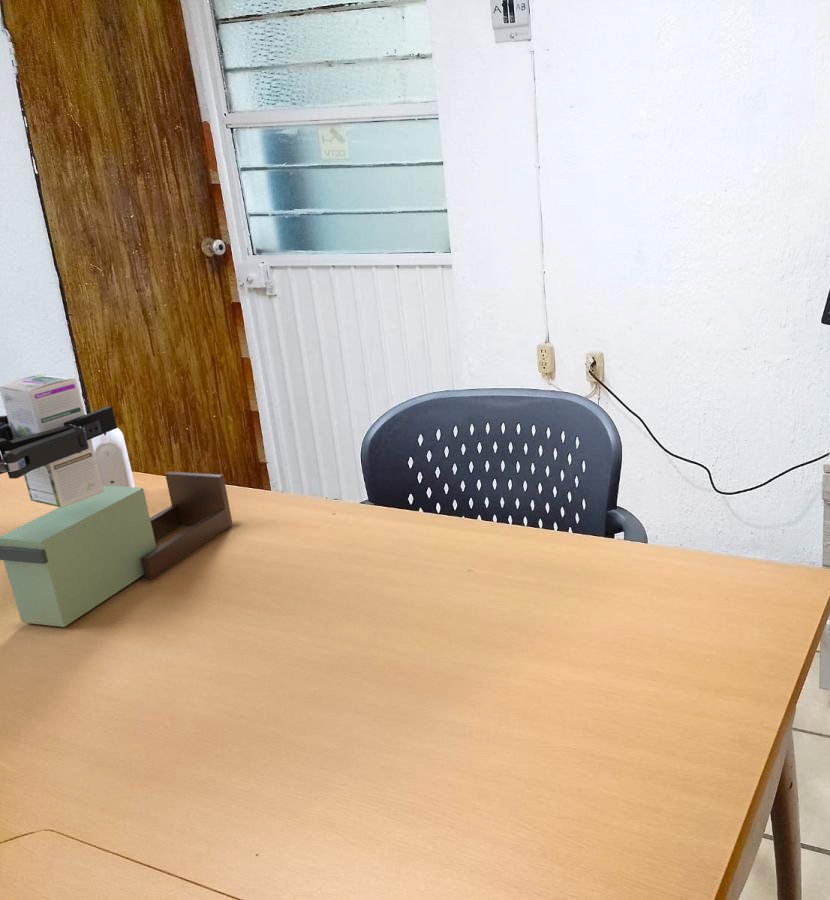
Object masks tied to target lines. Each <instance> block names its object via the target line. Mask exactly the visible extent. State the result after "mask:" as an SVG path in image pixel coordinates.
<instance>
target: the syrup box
mask: <svg viewBox="0 0 830 900" xmlns="http://www.w3.org/2000/svg"><path fill="white" fill-rule="evenodd" d="M0 396H1V400H2V404H3V406H4V407H3V408H4V411H5V413H6V416H7V418H8V421H9V425H10V428H11V432H12V435H13V439H18V438H22V437H25V436H29V435H33V434H37V433H40V432H44V431H48V430H52V429H55V428H59V427H63V426H64V423H65V422H68V421H70V420H73V419H76V418H78V417H81V416H84V415H86V414H85V410H84V406H83V401H82V397H81V393H80V391H79V386H78V381H77V379H76V378H75V377H67V376H61V375H53V374H36V375H30V376H27V377H26V376H25V377H23V378H18V379H16V380H15V379H14V380H12V381H9V382H6V383H3V384H0ZM87 442H88V446H89V448H88V449H86V450H84V451H82V452H81V453H76V454H73V455H71V456H68V457H65V458H63V459H60V460H58V461H55V462H52V463H50V464H47V465H44V466H42V467H39V468H37V469H34V470H31V471H30V472H28V473H26V474H25V475H23V477H24V481H25V484H26V488H27V491H28V495H29V499H30V501H31V502H35V503H40V504H44V505H49V506H51V507H52V506H53V507H57V508H59V507H65V506H68V505H71V504H74V503H77V502H80V501H82V500H85V499H87V498H90V497H92V496H95V495H97V494H99V493H102V492H104V489H103V485H102V481H101V477H100V473H99V469H98V465H97V461H96V457H95V453H94V449H93V445H92V439H90V440H87Z"/></svg>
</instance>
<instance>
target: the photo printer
mask: <svg viewBox="0 0 830 900" xmlns="http://www.w3.org/2000/svg"><path fill="white" fill-rule="evenodd" d="M91 441H92V445H93V449H94V453H95V457H96V461H97V465H98V469H99V473H100V477H101V481H102V485H103V486H119V487H134V488H136V485H135V479H134V475H133V471H132V467H131V463H130V458H129V454H128V449H127V446H126V441H125V437H124V433H123V432H122V431H121V429H120V428H119V427H117V428H116V429H114V430H111V431H109V432H107V433H104V434H102V435H99V436H97V437H94V438H92V439H91Z"/></svg>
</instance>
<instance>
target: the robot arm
mask: <svg viewBox="0 0 830 900" xmlns="http://www.w3.org/2000/svg"><path fill="white" fill-rule="evenodd" d="M116 428H118V426H117V422H116V418H115V413H114V410H113V406H105V407H102V408H100V409H97V410H95V411H92V412H89V413H86V414H85V415H84V416H81V417H78V418H76V419H73V420H70V421H68V422H65V423H64V426H63V427H59V428H55V429H52V430H48V431H44V432H40V433H37V434H33V435H29V436H25V437H22V438H18V439H13V435H12V432H11V428H10V425H9V421H8V418H7V415H0V475H3V474H6V473H7V475H8V478H9V479H12V480H13V479H15V480H16V479H19V478H21V477H24V475H25V474H26V473H28V472H30V471H31V470H34V469H37V468H39V467H42V466H44V465H47V464H50V463H52V462H55V461H58V460H60V459H63V458H65V457H68V456H71V455H73V454H76V453H81V452H82V451H84V450H86V449H88V448H89V446H88V442H87V440H90V439H91V440H92V439H93V438H94V437H97V436H99V435H102V434H104V433H107V432H109V431H111V430H114V429H116Z"/></svg>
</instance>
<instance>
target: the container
mask: <svg viewBox="0 0 830 900" xmlns="http://www.w3.org/2000/svg"><path fill="white" fill-rule="evenodd" d="M103 489H104V492H102V493H99V494H97V495H95V496H92V497H90V498H87V499H85V500H82V501H80V502H77V503H74V504H71V505H68V506H65V507H57V508H55V509H53V510H51V511H49V512H47V513H45V514H43V515H41V516H39V517H37V518H35V519H32V520H30V521H28V522H27V523H24V524H22V525H20V526H18V527H17V528H14V529H12V530H10V531H8V532H6V533H4V534H2V535H0V561H3V564H4V568H5V571H6V574H7V578H8V581H9V585H10V588H11V590H12V594H13V598H14V602H15V604H16V607H17V611H18V614H19V617H20V621H21V623H26V624H32V625H33V624H34V625H44V626H50V627H51V626H52V627H61V628H65V627H67V626H68V625H70V624H71V623H74V621H76V620H78V619H79V618H80V617H82V616H84V615H85V614H87V613H88V612H89V611H91V610H93V609H94V608H96V607H97V606H99V605H100V604H102V603H103V602H105V601H106V600H108V599H109V598H111V597H112V596H114V595H116V594H117V593H118V592H120V591H122V590H123V589H124V588H126V587H128V586H129V585H131V584H132V583H133V582H135V581H136V580H138V579H140V578H142V576H145V573H144V569H143V565H142V561H141V558H142V557H143V556H145V555H147V554H148V553H150V552H151V551H153V550H154V549H156V548H158V547H157V544H156V540H155V538H154V534H153V530H152V525H151V521H150V518H151V516H150V512H149V508H148V504H147V500H146V495H145V491H144V487H135V488H134V487H119V486H103Z"/></svg>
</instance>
